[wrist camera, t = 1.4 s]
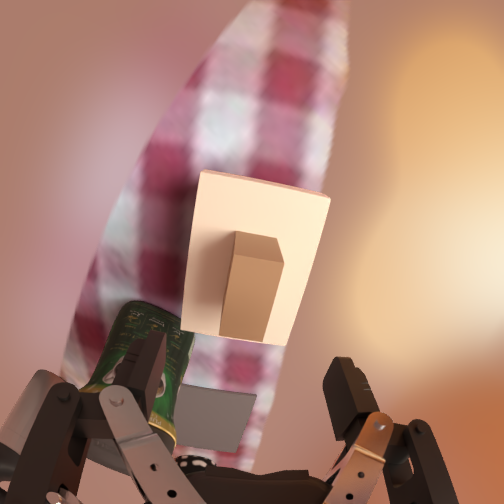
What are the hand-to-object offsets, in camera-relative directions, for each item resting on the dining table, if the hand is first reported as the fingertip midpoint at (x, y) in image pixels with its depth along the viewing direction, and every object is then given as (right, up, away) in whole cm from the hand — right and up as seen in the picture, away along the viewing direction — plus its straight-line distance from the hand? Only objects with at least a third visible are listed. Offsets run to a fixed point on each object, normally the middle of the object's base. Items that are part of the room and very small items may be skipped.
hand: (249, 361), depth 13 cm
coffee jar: (-11, -4, +20) cm, 23 cm away
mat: (-8, -22, +27) cm, 35 cm away
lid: (0, +4, +11) cm, 12 cm away
